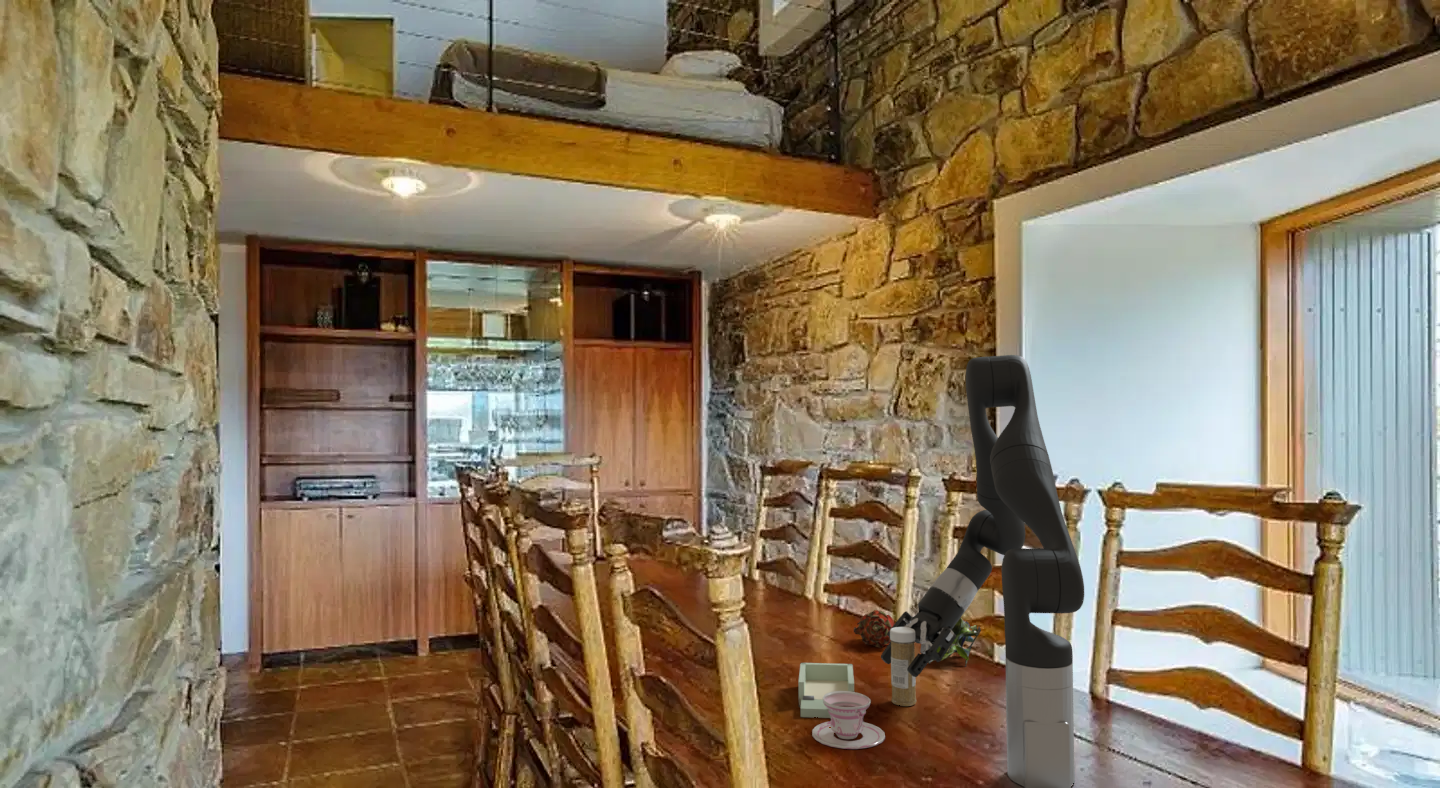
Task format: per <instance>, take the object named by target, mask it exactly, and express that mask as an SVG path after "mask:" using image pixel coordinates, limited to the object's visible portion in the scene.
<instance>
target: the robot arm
mask: <svg viewBox="0 0 1440 788" xmlns="http://www.w3.org/2000/svg"><path fill="white" fill-rule="evenodd" d="M1032 380H1033V379H1032V373H1031V370H1030V366H1029V365H1028V362H1027V360H1026V359H1025V358H1024V357H1023V356H1021V355H1018V354H1004V355H993V356H980V357H973V358H971V359H970V360H969V361H968V362H967V365H966V370H965V391H966V401H967V407H968V408H967V409H968V415H969V423H970V424H969V425H970V430H971V438H972V442H973V450H974V455H975V465H976V498H977V502H978V504H979V505H980V506H982V508H984V509H983V510H980V511H978V512H976V513H975V514H974V515H973V516H972V517H971V518H970V521H969V522H968V524H967V527H966V530H965V533H964V537H963V539H962V541H961V543H960V546H959V548H958V551H957V553H956V555H955V556H954V557H953V559H952V560H951V561H950V562H949V564H948V566H947V567H946V568H945V569H944V570H943V571H942V572H941V573H940V574H939V576H937V578H936V579H935V581H934V582H933V583H932V584H931V586H930V587H929V589H928V590H927V591H926V593H925V594H923V596H922V598H921V599H920V600H919V602H918V604H917V608H918V612H917V613H916V614H915V615H914V616H913V615H911V614H910V613H909V612H908V611H906V610H905V611H904V612H903V613H902V614H901V615H900V616H899V618H898V619H897V620H896V621H895V622H894V625H893V627H892V628H895V627H908V628H912V629H914V630H915V643H914V644H920V651H919V652H920V653H917V654H916V656H915V658H914V660H913V661H912V663H911V664H910V665H909V667H908V668H907V671H908V672H909V673H910V674H911V675H912V676H914V677H916V678H918V676H919V675H920V674H921V673H922V672H923V670H924V669H925V668H926V666H927V665H928V664H929V663H928V662H930V663H933V662H934V661H936V663H940V662H941V660H942V658H943V657H944V655H945V654H946V652H947V651H948V649H949V648H950V646H951V645H952V643H953V641H954V640H955V638H956V635H955V634H954V633H953V631H952V629H953V627H954V626H955V625H956V623H957V622H958V620H959V619H960V618H962V616H963V615H964V614H965V612H966V611H967V610H968V608H969V607H970V605H971V604H972V603H973V601H974V599H975V597H976V596H977V593H978V591H980V588H982V586H983V585H984V583H985V582H986V581H987V579H988V578H989V576H990V575H991V573H992V570H993V565H992V563H991V561H990V560H989V559H988V558H987V557H986V556H985V555H983V554H982V553H981V552H982V550H983V548H986V549H988V550H990V551H993V552H994V553H997V554H1000V555H1002V556H1003V558H1002V562H1001V586H1002V587H1001V588H1002V597H1003V617H1004V618H1003V619H1004V644H1005V645H1004V647H1005V649H1004V650H1005V708H1006V711H1005V714H1006V716H1005V717H1006V719H1005V720H1006V721H1005V722H1006V758H1007V759H1006V760H1007V761H1006V763H1007V764H1006V765H1007V767H1006V768H1007V776H1008V778H1009V779H1010V780H1011V781H1013V782H1014V783H1015V784H1018V785H1020V786H1022V787H1023V788H1072V787H1071V785H1072V784H1073V783H1074V782H1075V779H1076V777H1075V775H1076V774H1075V738H1074V737H1075V733H1074V732H1075V731H1074V730H1075V728H1074V727H1075V725H1074V724H1075V723H1074V722H1075V721H1074V720H1075V719H1074V670H1073V669H1074V668H1073V663H1074V661H1073V660H1074V659H1073V658H1074V657H1073V655H1074V654H1073V652H1074V651H1073V646H1072V643H1070V641H1069V640H1068V639H1066V638H1064V637H1063V636H1061V635H1059V634H1056V633H1052V632H1050V631H1047V630H1044V629H1042V628H1040V627H1039V626H1037V625H1035V624H1034V623H1032V622H1031V619H1030V614H1073V613H1076V612H1077V611H1079V610H1080V609H1081V608H1082V606H1083V604H1084V601H1085V582H1084V577H1083V572H1082V569H1081V565H1080V561H1079V559H1078V558H1079V557H1078V555H1077V552H1076V550H1075V547H1074V544H1073V542H1072V538H1071V535H1070V533H1069V530H1068V527H1067V524H1066V522H1065V518H1064V515H1063V511H1062V508H1061V505H1060V499H1059V496H1058V491H1057V487H1056V481H1055V477H1054V472H1053V468H1052V463H1051V459H1050V456H1049V453H1048V450H1047V446H1046V443H1045V439H1044V435H1043V432H1042V428H1041V424H1040V421H1039V416H1038V411H1037V404H1036V398H1035V392H1034V387H1033V381H1032ZM1002 407H1014V412H1013V414H1012V416H1011V417H1010V420H1009V421H1008V423H1007V425H1006V426H1005V427H1004V428H1003V430H1002V432H1001V433H1000V435H999V436H997V435H996V433H995V431H994V429H993V428H992V426H991V424H990V421H989V419H988V415H987V410H986V409H988V408H1002ZM1025 525H1027V527H1028V528H1029V529H1030V530H1031V531H1032V532H1033V533H1034V534H1035V536H1036V537H1037V539H1038V540H1039V542H1040V544H1041V547H1043V548H1023V546H1024V543H1025V540H1026V528H1025ZM892 628H891V629H892ZM887 635H888V636H889V638H890V630H889V631H888V633H887ZM939 646H940V647H941V649H940V651H939V652H937V649H938V648H939ZM880 658H881V660H882V661H883V662H884V663H885V664H887V665H891V642H890V643H889V644H887V645H886V647H885V649H884V650H883V651H882V653H881V655H880ZM933 660H934V661H933ZM932 661H933V662H932ZM942 661H943V660H942ZM1074 784H1075V783H1074Z"/></svg>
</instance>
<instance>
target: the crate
mask: <svg viewBox="0 0 1440 788" xmlns="http://www.w3.org/2000/svg"><path fill="white" fill-rule="evenodd" d="M834 691H851V692H855V677H854V665H853V664H852V663H831V662H830V663H828V662H827V663H825V662H824V663H822V662H800V664H799V675H798V707H799V708H800V718H814V717H816V718H817V717H818V718H820V719H831V716H830V714H829V712H828V708H827V707H826V706H825V705H824V703H823V696H824V695H825V694H827V693H829V692H834Z"/></svg>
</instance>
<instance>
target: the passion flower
mask: <svg viewBox="0 0 1440 788" xmlns="http://www.w3.org/2000/svg"><path fill="white" fill-rule="evenodd" d="M952 631H953V633H954V634H955V635H956V638H955V640H954V641H953V643H952V645H951V646H950V648H949V649H948V651H947V652H946V654H945V655H944V657H943V658H942V660H941V661H944V660H946V659H947V658H949V657H951V656H952V655H953V654H955V653H957V654H958V655H959V656H960V657H961V658H963V659H964V660H965V661H964V667H967V664H968V661H969V660H970V658H969V655H970V653H971V651H972V646H973V645H974V643H975V641H976V640H977V638H978V637H979V635H980V634H981V632H982V629H981V627H980V625H979V626H978V625H976V624H975V625H973V626H972V625H970V623H969V622H968V621H967V620H963V618H962V617H961V618H960V619H959V620H958V622H957V623H956V625H955V626H954V627H953V629H952ZM973 637H974V638H973ZM965 642H967V643H970V645H969V646H968V647H967V648H964V644H965ZM940 649H941V647H940V646H939V648H938V649H937V652H939V651H940ZM934 661H935V660H933V661H932V662H928V664H929V665H931V663H933V662H934ZM941 661H940V662H941Z"/></svg>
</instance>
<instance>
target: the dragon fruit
mask: <svg viewBox="0 0 1440 788" xmlns="http://www.w3.org/2000/svg"><path fill="white" fill-rule="evenodd" d="M894 624H895V619H893V618H892V616H891V615H889V614H886V613H885V612H884V611H882V610H879V609H874V610H872V611H871V612H869V613H865V614H864V615H863V616H861V617H860V621H858V622H857V624H856V625H857V627H856V626H855V627H854V628H853V633H854V634H855V635H858V636H859V635H860V637H861V642H863V643H864V644H865V645H866V646H871V645H872V647H875V648H879V649H881V648H883V647H884V646H885V645H889V643H890V642H891V640H890V638H889V636H888V635H887V633H888V631H889V630H890V629H891V628H892V627H893V625H894Z"/></svg>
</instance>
